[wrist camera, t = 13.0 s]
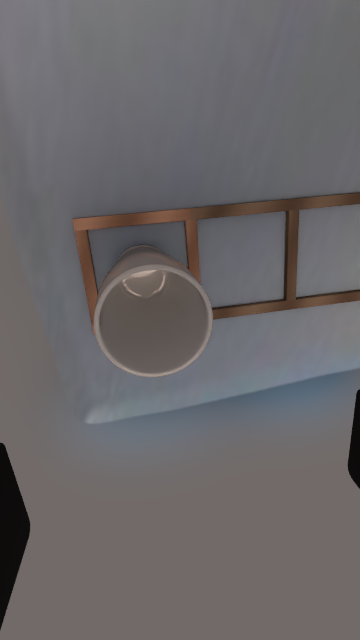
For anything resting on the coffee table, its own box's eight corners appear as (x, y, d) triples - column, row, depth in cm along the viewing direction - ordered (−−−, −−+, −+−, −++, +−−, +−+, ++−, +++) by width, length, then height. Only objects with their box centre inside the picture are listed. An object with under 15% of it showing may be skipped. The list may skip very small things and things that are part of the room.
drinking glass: (115, 227, 31) (105, 248, 17) (185, 246, 32) (230, 279, 18) (100, 297, 33) (81, 368, 19) (167, 311, 34) (196, 387, 20)
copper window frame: (392, 189, 33) (396, 189, 33) (378, 296, 37) (382, 297, 37) (73, 218, 30) (72, 219, 29) (94, 332, 34) (93, 334, 33)
